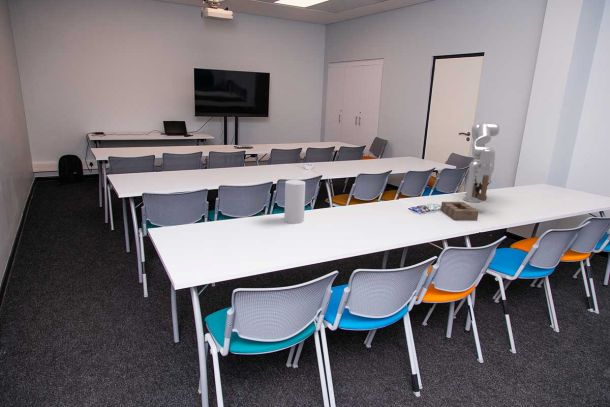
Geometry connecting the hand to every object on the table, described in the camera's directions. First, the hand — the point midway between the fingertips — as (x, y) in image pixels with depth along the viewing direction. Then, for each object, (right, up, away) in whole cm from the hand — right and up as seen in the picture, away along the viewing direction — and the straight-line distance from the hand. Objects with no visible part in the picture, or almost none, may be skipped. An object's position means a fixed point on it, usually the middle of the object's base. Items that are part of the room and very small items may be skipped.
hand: (480, 191), depth 285 cm
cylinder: (-132, -19, -30) cm, 137 cm away
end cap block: (-18, -17, -6) cm, 25 cm away
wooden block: (0, -5, +2) cm, 6 cm away
